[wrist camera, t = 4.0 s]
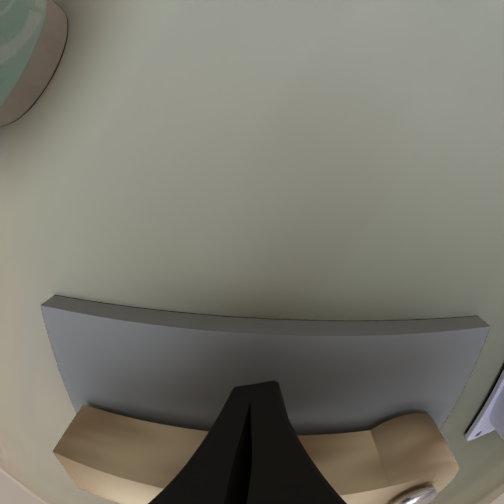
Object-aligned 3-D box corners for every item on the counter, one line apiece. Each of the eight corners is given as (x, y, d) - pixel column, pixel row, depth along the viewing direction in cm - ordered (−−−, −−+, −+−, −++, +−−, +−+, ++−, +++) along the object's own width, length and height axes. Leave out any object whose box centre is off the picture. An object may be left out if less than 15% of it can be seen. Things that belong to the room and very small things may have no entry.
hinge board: (477, 315, 9) (490, 326, 8) (341, 534, 16) (342, 542, 15) (54, 295, 10) (40, 305, 9) (153, 526, 16) (151, 534, 15)
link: (448, 405, 9) (477, 450, 6) (412, 462, 10) (429, 503, 7) (78, 392, 9) (45, 440, 6) (105, 452, 11) (85, 494, 8)
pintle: (443, 479, 6) (446, 487, 6) (421, 502, 7) (423, 508, 7) (399, 493, 6) (402, 501, 6) (380, 514, 7) (382, 521, 7)
